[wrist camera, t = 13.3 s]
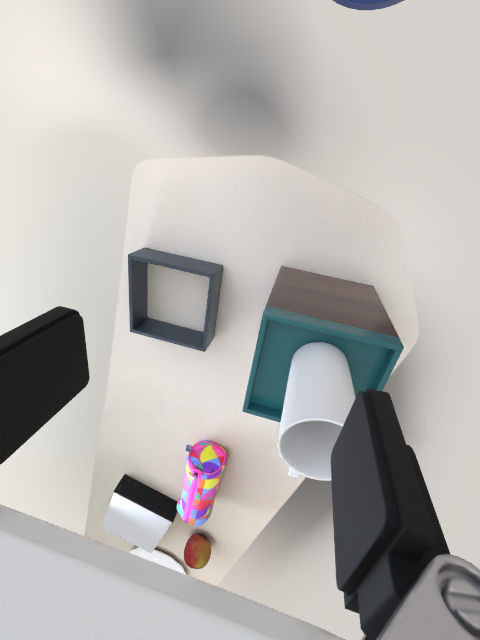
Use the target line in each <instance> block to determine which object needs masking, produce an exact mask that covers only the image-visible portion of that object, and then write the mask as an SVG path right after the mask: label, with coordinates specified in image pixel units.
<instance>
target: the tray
mask: <svg viewBox="0 0 480 640" xmlns="http://www.w3.org/2000/svg"><path fill="white" fill-rule="evenodd" d="M313 342H325V343H329V344H332V345H334V346H336V347H337V348H339V349H340V350H341V351H342V352H343V353H344V355H345V356H346V358H347V361H348V366H349V370H350V374H351V379H352V384H353V389H354V394H355V398H356V396H357V394H358V392H359V391H364V392H365V390H366V389H367V388H372V389H375V390H379V391H382V390H383V388H384V386H385V384H386V382H387V380H388V378H389V376H390V374H391V372H392V370H393V368H394V366H395V364H396V362H397V360H398V358H399V356H400V354H401V352H402V350H403V348H404V346H403V344H402V342H401V341H400V338H399V337H395V336H391V335H386V334H382V333H378V332H374V331H370V330H365V329H361V328H357V327H353V326H349V325H345V324H340V323H336V322H332V321H328V320H324V319H320V318H315V317H311V316H307V315H303V314H299V313H294V312H290V311H286V310H282V309H278V308H274V307H269V306H266V307H265V310H264V312H263V317H262V321H261V326H260V330H259V335H258V340H257V344H256V349H255V354H254V358H253V363H252V368H251V372H250V377H249V382H248V386H247V391H246V396H245V400H244V405H243V410H242V411H243V412H246V413H250V414H253V415H256V416H260V417H263V418H267V419H270V420H274V421H277V422H281V417H282V411H283V406H284V400H285V395H286V389H287V383H288V377H289V372H290V367H291V362H292V358H293V356H294V354H295V352H296V351H297V350H298V349H299V348H301V347H302V346H304V345H306V344H309V343H313Z"/></svg>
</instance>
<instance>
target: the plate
mask: <svg viewBox="0 0 480 640" xmlns="http://www.w3.org/2000/svg"><path fill="white" fill-rule="evenodd" d="M129 553H131V554H133V555H136V556H138V557H141V558H144V559H146V560H149V561H152V562H154V563H157V564H159V565H162V566H165V567H167V568H170V569H172V570H175V571H178V572H180V573H183V574H185V575H187V574H186V573H185V571H184V568H183V567H182V566H181V565H180V564H179V563H178V562H177V561H176V560H175V559H174V558H172V557H171V556H170V555H168V554H166V553H164V552H162V551H159V550H156V549H154V550H153V552H152V553H149V552H147V551H145V550H143V549H141V548H136V549H134V550H131V551H130V552H129Z"/></svg>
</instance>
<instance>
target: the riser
mask: <svg viewBox="0 0 480 640" xmlns="http://www.w3.org/2000/svg"><path fill="white" fill-rule="evenodd" d="M266 306H269V307H274V308H278V309H282V310H286V311H290V312H294V313H299V314H303V315H307V316H311V317H315V318H320V319H324V320H328V321H332V322H336V323H340V324H345V325H349V326H353V327H357V328H361V329H365V330H370V331H374V332H378V333H382V334H386V335H391V336H395V337H399V336H398V334H397V332H396V330H395V328H394V326H393V324H392V322H391V321H390V319H389V317H388V315H387V313H386V311H385V309H384V307H383V305H382V303H381V301H380V299H379V297H378V295H377V293H376V291H375V289H374V287H373V286H370V285H365V284H360V283H356V282H351V281H347V280H342V279H338V278H333V277H329V276H324V275H320V274H315V273H310V272H306V271H301V270H297V269H292V268H288V267H283V266H281V268H280V271H279V273H278V276H277V279H276V281H275V284H274V286H273V289H272V292H271V294H270V297H269V299H268V302H267V305H266Z"/></svg>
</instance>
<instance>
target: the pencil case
mask: <svg viewBox="0 0 480 640" xmlns="http://www.w3.org/2000/svg"><path fill="white" fill-rule="evenodd" d="M186 451H188V452H189V453H188V456H187V466H186V470H185V476H184V483H183V492H182V496H181V498H180V499H179V501H178V503H177V511H178V513H179V514H180V516H181V518H183V520H184V521H185V522H188V523H189V524H191V525H194V526H200V525H202V524H204V523H205V522H206V521H207V520H208V518H209V517H210V514H211V511H212V507H213V503H214V498H215V495H216V492H217V488H218V486H219V484H220V481H221V478H222V475H223V473H224V470H225V465H226V460H227V453H226V451H225V449H224V448H223V447H222V446H220V445H218V444H216V443H213V442H210V441H200V442H198V443H196V444H195V445H194V446H190V445H187V446H186Z"/></svg>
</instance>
